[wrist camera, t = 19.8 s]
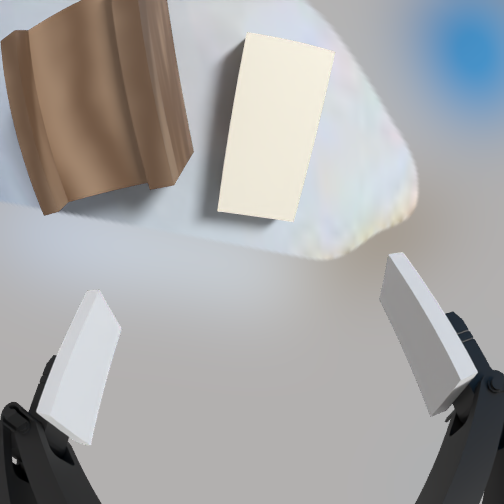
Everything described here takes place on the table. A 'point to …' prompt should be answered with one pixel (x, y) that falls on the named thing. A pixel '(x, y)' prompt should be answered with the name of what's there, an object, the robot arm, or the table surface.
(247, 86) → the thick cream rectangular block
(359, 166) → the table surface
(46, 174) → the brown channel-shaped piece
